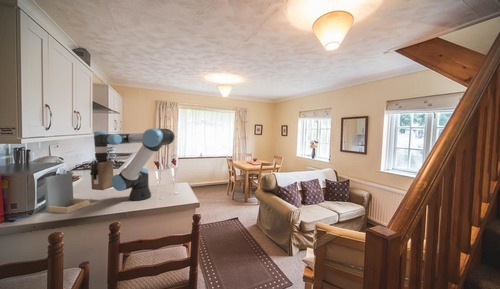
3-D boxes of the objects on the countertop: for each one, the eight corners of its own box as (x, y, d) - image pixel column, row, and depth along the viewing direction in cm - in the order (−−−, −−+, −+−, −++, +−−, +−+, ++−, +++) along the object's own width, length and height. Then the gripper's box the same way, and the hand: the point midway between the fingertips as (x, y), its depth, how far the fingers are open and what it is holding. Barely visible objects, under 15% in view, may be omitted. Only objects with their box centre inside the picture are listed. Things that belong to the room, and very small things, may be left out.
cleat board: (90, 203, 143) (89, 173, 141) (67, 213, 127) (65, 178, 125) (71, 202, 145) (69, 172, 143) (46, 211, 129) (44, 177, 127)
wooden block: (102, 190, 144) (101, 163, 142) (91, 189, 146) (89, 162, 144) (114, 186, 154) (113, 161, 152) (103, 186, 156) (102, 160, 154)
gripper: (109, 150, 159) (110, 178, 161) (82, 154, 137) (84, 186, 138) (117, 150, 159) (119, 178, 160) (92, 154, 136) (93, 186, 138)
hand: (102, 181), depth 149 cm, fingers closed on wooden block, 10 cm apart
